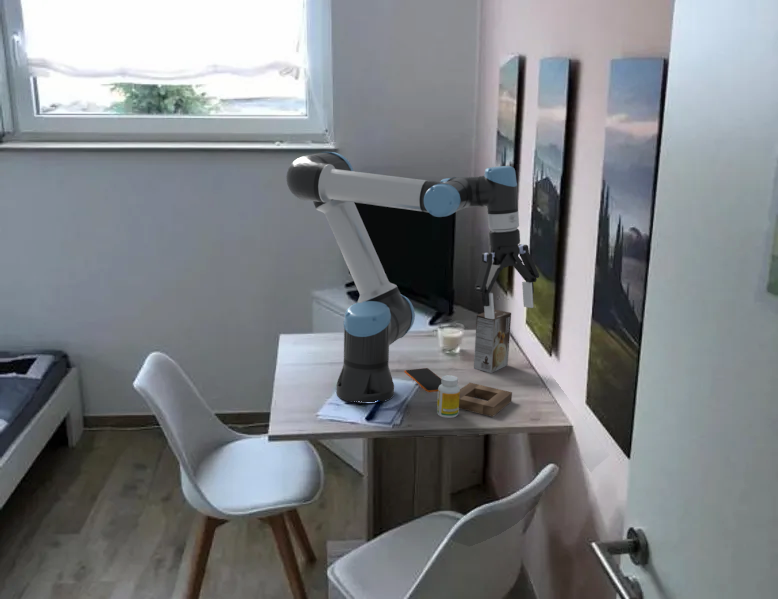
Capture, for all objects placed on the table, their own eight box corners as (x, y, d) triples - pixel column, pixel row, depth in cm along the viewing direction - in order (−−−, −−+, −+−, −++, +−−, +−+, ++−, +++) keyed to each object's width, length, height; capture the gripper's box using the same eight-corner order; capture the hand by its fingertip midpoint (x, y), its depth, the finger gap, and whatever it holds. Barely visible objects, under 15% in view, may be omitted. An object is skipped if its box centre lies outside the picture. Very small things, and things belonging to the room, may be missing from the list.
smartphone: (427, 370, 240) (427, 367, 240) (453, 391, 226) (453, 388, 225) (403, 372, 238) (403, 369, 238) (427, 394, 223) (427, 391, 223)
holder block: (449, 405, 215) (449, 396, 214) (469, 391, 225) (469, 382, 224) (492, 416, 209) (493, 407, 208) (511, 401, 219) (512, 392, 218)
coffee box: (489, 360, 249) (492, 308, 245) (508, 365, 245) (512, 312, 241) (472, 368, 242) (476, 314, 238) (492, 373, 238) (495, 319, 234)
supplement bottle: (432, 413, 210) (434, 376, 207) (448, 408, 213) (450, 372, 210) (447, 420, 206) (449, 383, 203) (462, 415, 209) (465, 378, 206)
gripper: (476, 238, 199) (483, 325, 204) (550, 222, 213) (554, 304, 218) (456, 236, 205) (462, 321, 210) (528, 221, 219) (533, 300, 224)
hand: (509, 312), depth 214 cm, fingers open, 13 cm apart
